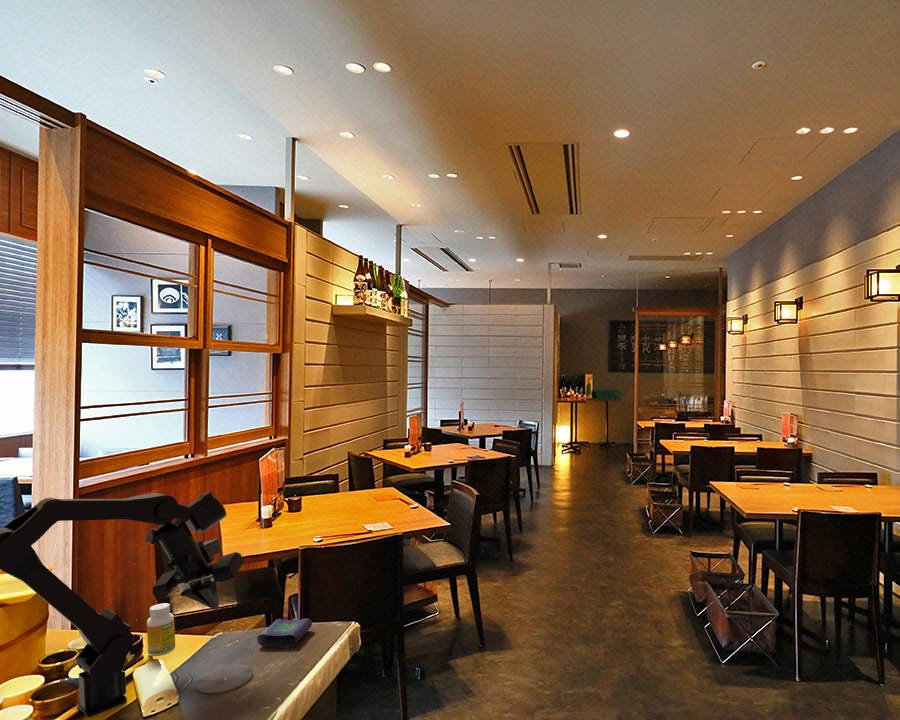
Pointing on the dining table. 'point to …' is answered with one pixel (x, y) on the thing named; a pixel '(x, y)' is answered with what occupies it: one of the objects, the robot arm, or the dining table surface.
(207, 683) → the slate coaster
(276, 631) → the flask
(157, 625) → the supplement bottle
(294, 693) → the dining table surface
